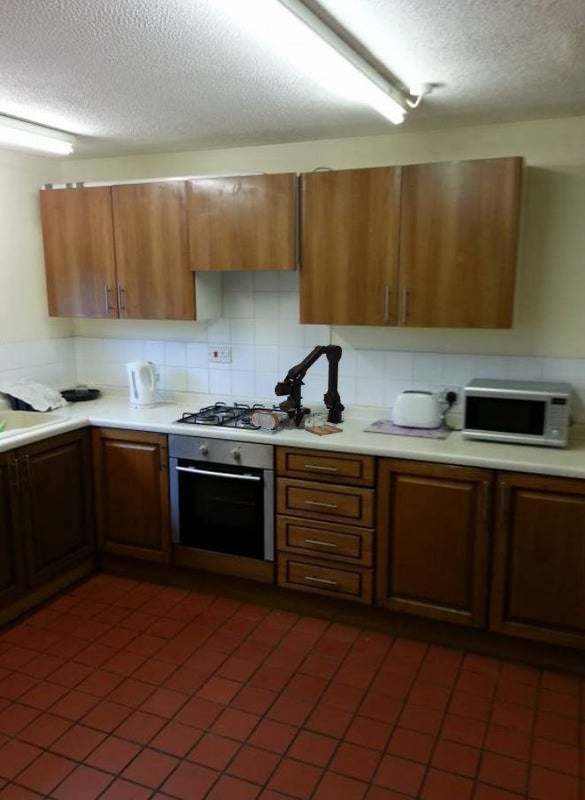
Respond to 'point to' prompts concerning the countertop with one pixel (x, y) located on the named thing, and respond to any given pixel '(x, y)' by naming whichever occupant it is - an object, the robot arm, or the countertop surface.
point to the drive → (293, 423)
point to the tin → (265, 419)
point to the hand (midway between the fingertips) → (294, 425)
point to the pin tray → (323, 429)
